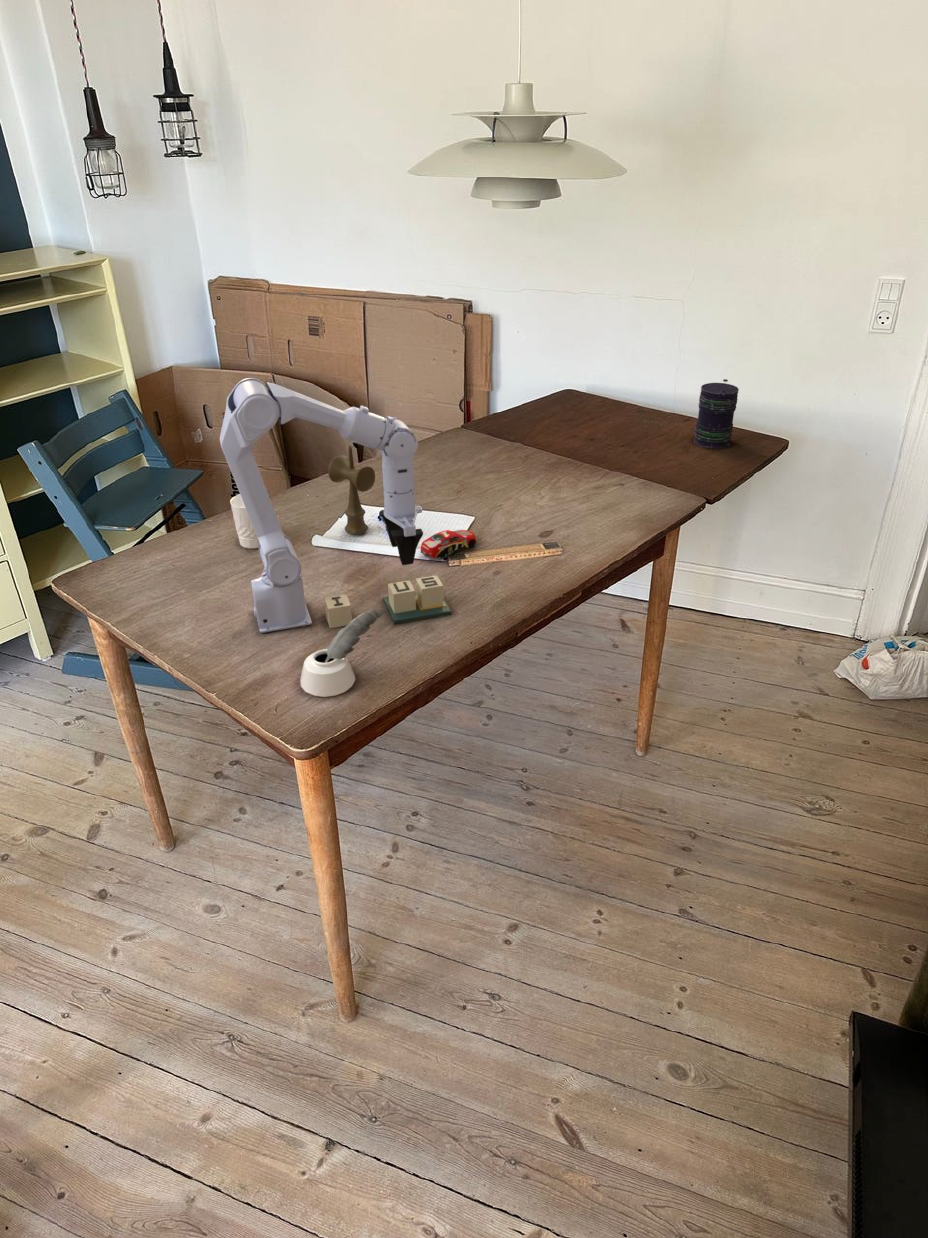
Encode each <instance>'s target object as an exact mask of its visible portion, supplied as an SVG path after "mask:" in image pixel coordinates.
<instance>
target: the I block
mask: <svg viewBox="0 0 928 1238" xmlns="http://www.w3.org/2000/svg"><path fill="white" fill-rule="evenodd" d="M323 601H324V610H325V619H326V621H327V625H328V626H329V629H335V628H341V627H345V626H346V625H347V624H348V623H349V622H350V621H351V620H353V615H352V605H351V603H350V600H349V598H348V595H347V594H341V595H340V594H339V595H334V596H329V597H324V598H323Z"/></svg>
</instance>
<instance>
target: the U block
mask: <svg viewBox="0 0 928 1238" xmlns="http://www.w3.org/2000/svg"><path fill="white" fill-rule="evenodd" d="M387 590H388V592H387V593H388V597H389V604H390V606H391V608H392V610H393V612H394V614H395V613H401V612H407V611H413V610H416V598H415V592H416V589H415V588H414V585H413V584H412V582H411V581H410V580H404V581H398V582H397V581H396V582H391V583H387Z"/></svg>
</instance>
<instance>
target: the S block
mask: <svg viewBox="0 0 928 1238" xmlns="http://www.w3.org/2000/svg"><path fill="white" fill-rule="evenodd" d="M415 592H416V597H417V599H418V601H419V603H420V605H421V607H422V608H427V607H433V606H439V605H444V601H443V598H444V585H443V583H442V582H441V580H440V578H439V576H438V575H430V576H424V577H417V578H415Z"/></svg>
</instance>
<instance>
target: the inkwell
mask: <svg viewBox="0 0 928 1238" xmlns="http://www.w3.org/2000/svg"><path fill="white" fill-rule="evenodd" d="M386 613H389V611H388V609H386V608H375V609H371V610H368V611H364V612H362V613H360V614H359V615H357V616H356V617H354V618H352V620H351V621H350V622H349V623H348V624H347V625H346V626H344V628H341V629H340V630H339V631H338V632H337V634H336V635H335V636H333V638H332V640H331V643H330V644H329V645H328V646H327V648H324V649H319V650H317V651H314V652H312V653H311V654H309V655H308V656H307V657H306V658H305V660H304V661H303V665H302V669H301V674H300V679H299V681H300V687H301V688H302V690H303V691H304V692H305V693H307V694H309V695H311V696H314V697H321V698H327V697H335V696H338V695H341V694H343V693H346V692H347V691H348V690H350V689H352V687H353V686H354V683H355V681H356V676H355V675H356V674H355V672H354V670H353V666H352V665H351V662H350V660H349V658H348V654H350V653H352V652H353V651H354V650H355V647H354V646H356V645H357V644H358V643H359V642H360V640H361V636H363V635H364V634H365V635H366V634H367V632H368V631H369V630H371V626H372V625H374V624H375V623H376V622H377V620H378V619H379V618H381V617H382V616H383V615H385V614H386Z"/></svg>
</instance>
